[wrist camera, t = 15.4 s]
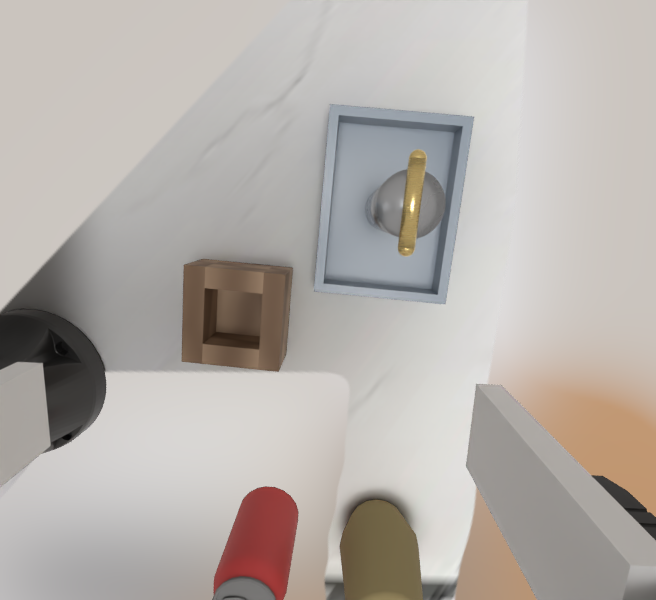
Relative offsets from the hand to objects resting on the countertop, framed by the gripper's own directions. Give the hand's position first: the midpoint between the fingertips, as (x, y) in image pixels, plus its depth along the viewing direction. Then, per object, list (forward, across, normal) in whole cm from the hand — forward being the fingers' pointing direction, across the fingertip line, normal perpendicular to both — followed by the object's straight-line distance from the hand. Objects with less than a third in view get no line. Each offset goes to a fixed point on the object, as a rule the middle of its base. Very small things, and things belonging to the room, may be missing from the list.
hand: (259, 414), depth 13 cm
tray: (+29, +7, +7) cm, 31 cm away
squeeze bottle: (+29, +8, -27) cm, 41 cm away
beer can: (+30, -4, -27) cm, 40 cm away
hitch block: (+29, -6, -4) cm, 30 cm away
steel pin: (+28, +7, +7) cm, 30 cm away
